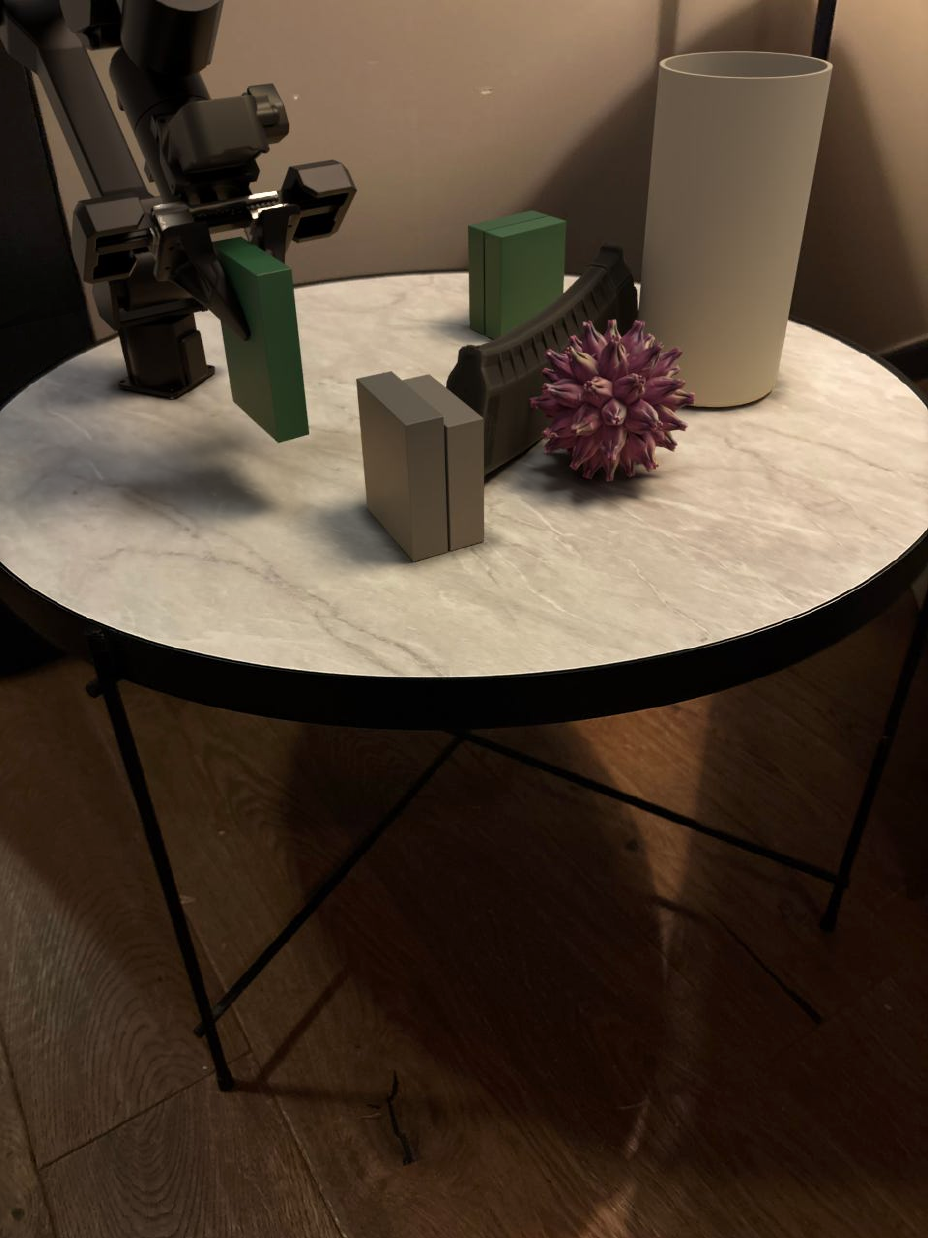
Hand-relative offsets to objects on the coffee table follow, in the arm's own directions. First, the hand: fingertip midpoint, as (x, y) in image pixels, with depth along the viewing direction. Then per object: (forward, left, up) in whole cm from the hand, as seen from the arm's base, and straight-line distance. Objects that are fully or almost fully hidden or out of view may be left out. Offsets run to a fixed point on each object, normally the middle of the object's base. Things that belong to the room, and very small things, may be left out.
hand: (266, 333), depth 68 cm
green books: (+4, +38, -12) cm, 40 cm away
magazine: (+13, +20, -13) cm, 27 cm away
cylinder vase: (+24, +31, -13) cm, 41 cm away
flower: (+21, +12, -13) cm, 27 cm away
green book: (-1, +1, -7) cm, 7 cm away
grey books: (+11, 0, -12) cm, 17 cm away
